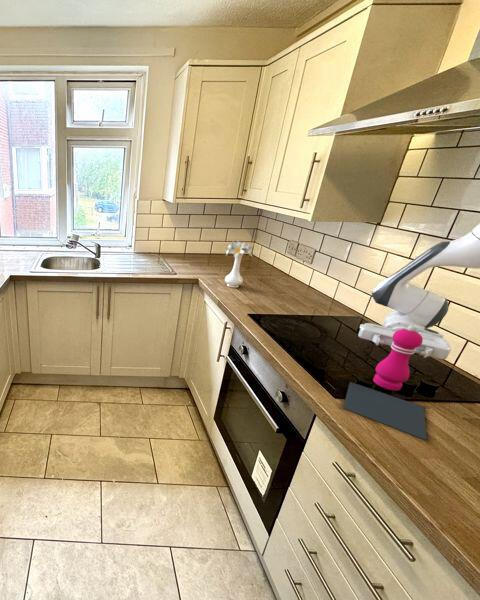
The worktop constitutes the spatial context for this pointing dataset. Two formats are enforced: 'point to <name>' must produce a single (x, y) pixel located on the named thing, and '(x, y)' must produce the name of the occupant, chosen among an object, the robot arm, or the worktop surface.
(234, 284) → the flower vase
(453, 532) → the worktop surface
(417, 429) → the mat
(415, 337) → the pepper mill
